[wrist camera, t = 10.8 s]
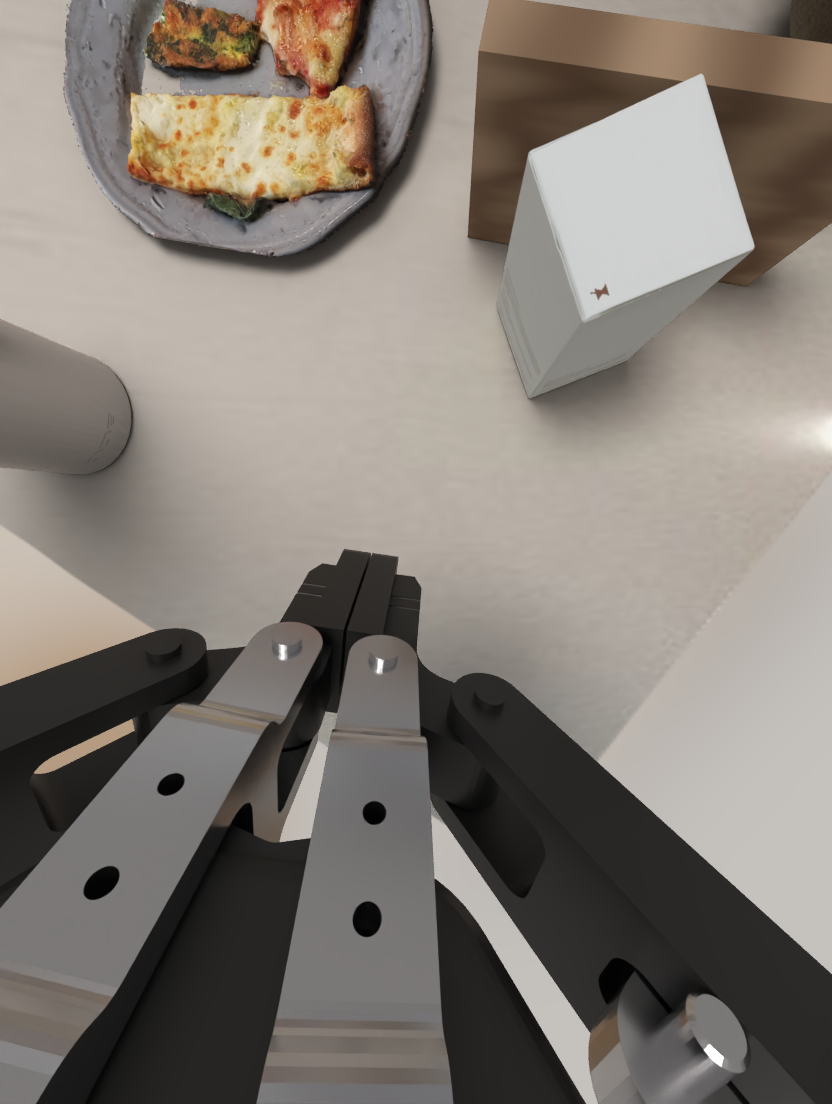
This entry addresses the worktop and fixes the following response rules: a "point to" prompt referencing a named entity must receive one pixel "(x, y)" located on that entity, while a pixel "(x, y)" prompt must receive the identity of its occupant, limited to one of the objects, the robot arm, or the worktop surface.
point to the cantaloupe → (811, 20)
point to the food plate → (246, 112)
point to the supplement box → (618, 236)
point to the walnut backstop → (636, 74)
